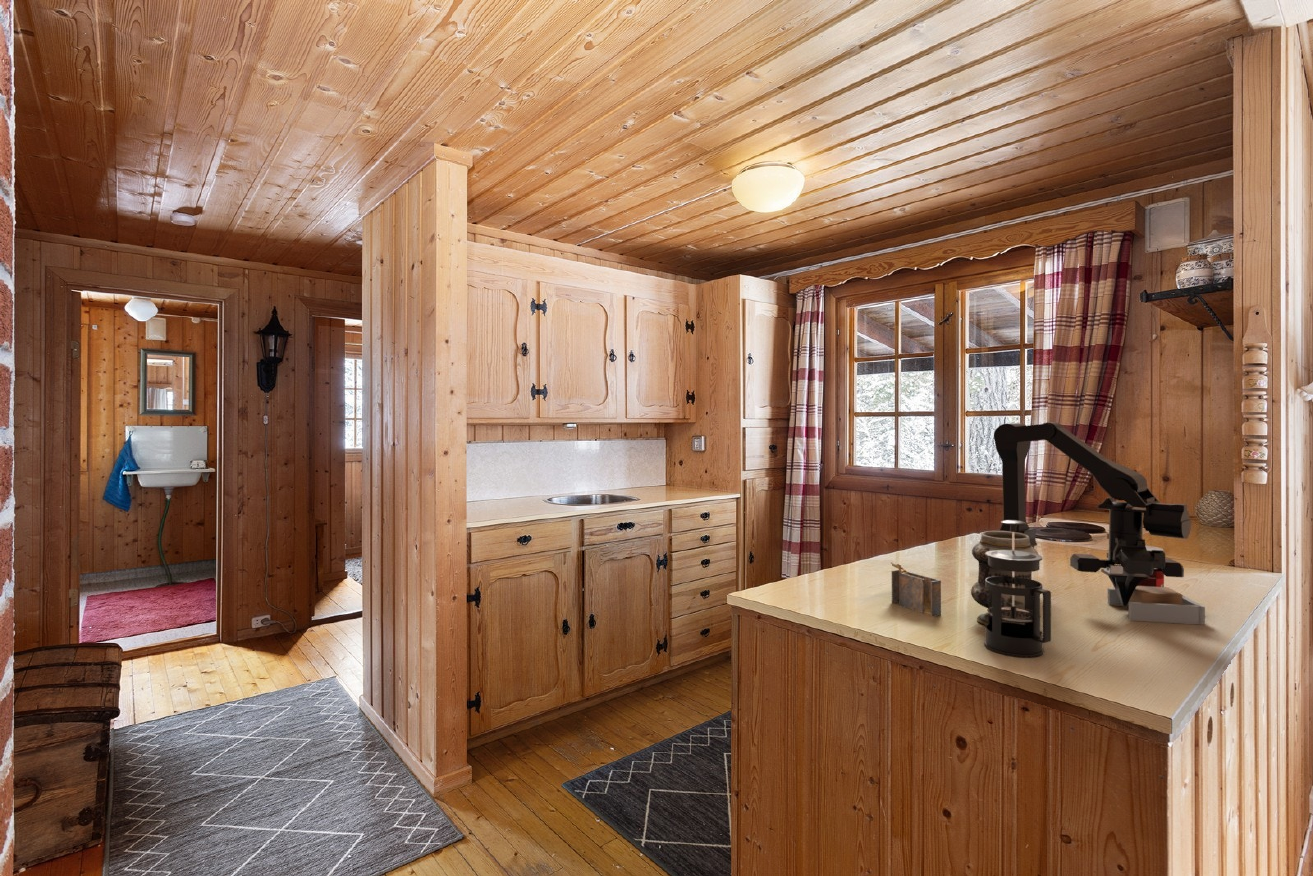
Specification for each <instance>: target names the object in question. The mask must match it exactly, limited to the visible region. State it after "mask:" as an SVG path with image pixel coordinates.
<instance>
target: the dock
mask: <svg viewBox="0 0 1313 876" xmlns="http://www.w3.org/2000/svg"><path fill="white" fill-rule="evenodd" d="M1129 601H1130V600H1129ZM1108 604H1109V605H1108ZM1107 605H1108V606H1120V607H1123V606H1122V604H1121V602H1120V600H1119V597H1118V595H1117V593H1116V590H1115V588H1114V587H1108V588H1107ZM1126 607H1128V620H1129V621H1132V622H1134V621H1138V622H1150V623H1151V622H1152V623H1153V622H1154V623H1168V624H1169V623H1170V624H1183V625H1184V624H1185V625H1186V624H1187V625H1199V626H1201V625H1203V626H1206V606H1204V605H1202V604H1200V603H1198V602H1196V601H1194V600H1192V599H1191V598H1189V597H1186V596H1185V595H1183V594H1182V605H1179V604H1161V603H1142V602H1128V604H1127V606H1126Z"/></svg>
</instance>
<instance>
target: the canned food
mask: <svg viewBox="0 0 1313 876" xmlns="http://www.w3.org/2000/svg"><path fill="white" fill-rule="evenodd" d="M1145 547H1146V549H1147V551H1152V550H1162V551H1163V552H1164V553H1165V550H1164V549H1163V548H1161V547H1156V546H1153V545H1145ZM1123 570H1124V569H1123ZM1147 576H1149V579H1144V580H1142V581H1141V582H1140V583H1139V584H1138V585H1137V586H1151V587H1165V575H1164V574H1163V573H1162V572H1161V571H1153V574H1152V575H1147Z"/></svg>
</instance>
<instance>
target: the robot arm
mask: <svg viewBox="0 0 1313 876" xmlns="http://www.w3.org/2000/svg"><path fill="white" fill-rule="evenodd" d="M993 439H994V445H995V449H996V452H997V454H998V456H999V458H1000V460H1001V462H1002V463H1001V468H1002V469H1001V471H1002V472H1001V473H1002V509H1003V513H1002V515H1003V517H1002V518H1003V520H1002V521H1004V520H1017V521H1023V522H1025V523H1027V524H1026V525H1016V533H1022V534H1025V535H1028V536H1029V539H1030V545H1031V546H1032V547H1033V548H1034V549H1035V547H1036V546H1038V543H1037V540H1036V535H1037V529H1036V528H1035V527H1034V528H1030V527H1029V526H1030V525H1029V524H1028V521H1027V517H1026V516H1027V515H1026V514H1027V512H1026V509H1027V508H1026V507H1027V506H1026V473H1025V472H1026V471H1025V464H1026V463H1025V461H1026V458H1027V456H1028V453H1029V452H1030V449H1031V443H1032V442H1038V441H1047V442H1048V443H1050V444H1051V445H1052V446H1053V447H1055V448H1056V449H1057V450H1058V451H1060V452H1062V453H1063V454H1064V455H1066V456H1067V457H1068V458H1070V459H1071V460H1072V461H1073V462H1075V463H1076V464H1077V465H1079V466H1080V467H1082V468H1083V469H1084V470H1086V472H1088V473H1090V475H1092V477H1093V478H1094V479H1095V481H1096V482H1097V484H1098V485H1099V486H1100V487H1101V488H1102V490H1103V491H1104V492H1106V494H1108V496H1109V497H1106V498H1105V500H1104V501H1102V502H1101V503H1100V504H1098V505H1097V508H1098V509H1101V510H1109V512H1108V513H1109V515H1108V517H1109V519H1108V520H1109V521H1108V524H1109V525H1108V533H1106V539H1108V552H1106V558H1105V559H1104V558H1098V557H1097V556H1096V555H1093V554H1091V553H1089V554H1088V553H1087V554H1086V553H1073V554H1072V555H1071V556H1070V559H1069V560H1070V561H1069V563H1070V564H1069V566H1070V567H1072V568H1073V569H1075V570H1076V571H1077V572H1082V573H1097V572H1099V570H1100V572H1102V573H1103V574H1105V575H1106V576H1108V578H1109V580H1110V582H1111V584H1112V585H1113V588H1115V590H1116V593H1117V595H1118V597H1119V600H1120V602H1121V604H1122V606H1121V607H1128V606H1127V604H1128V602H1129V600H1130V598H1131V596H1132V594H1133V592H1134V590H1135V588H1136V587H1137V585H1138V584H1139V583H1140V582H1141V581H1142V580H1144V579H1149V576H1147V575H1152V574H1153V571H1161V572H1162V573H1163V574H1164V577H1168V578H1169V577H1170V578H1184V577H1185V568H1184V566H1183V565H1182V564H1181V562H1179V561H1176V560H1174V559H1171V558H1170V557H1169V558H1168V557H1166V553H1165V551H1164V552H1163V551H1162V550H1152V551H1147V549H1146V547H1145V546H1146V539H1144V538H1143V537H1144V536H1143V535H1144V534H1143V531H1144V530H1145V531H1146V532H1148V533H1149V535H1150V536H1157V537H1165V538H1174V539H1183V540H1188V538H1189V536H1190V535H1191V529H1192V519H1190V517H1191V515H1190V513H1189V511H1188V505H1187V504H1186V503H1165V502H1163V503H1162V502H1160V501H1159V499H1157V497H1156V496H1155V495H1154V494H1153V492H1152V491H1151V490H1150V488H1148V482H1147V481H1148V480H1147V479H1146V477H1145V476H1144V475H1143V474H1141V473H1139V472H1137V471H1135V470H1133V469H1131V468H1130V467H1127V466H1125V465H1122V464H1120V463H1117V462H1115V461H1112V460H1110V459H1108V458H1107V457H1105V456H1104V455H1103V454H1101V453H1100V452H1098V451H1097V450H1096V449H1094V448H1093V447H1092V446H1090V445H1089V444H1087V443H1085V441H1083V440H1081V439H1080V438H1079V437H1077V436H1076V435H1074V434H1073V433H1072V432H1071V431H1069V430H1068V429H1066V428H1065V427H1064V426H1063V424H1061V423H1059V422H1055V421H1050V422H1048V421H1047V422H1043V423H1040V424H1032V425H1031V424H1030V425H1026V424H1024V423H1020V422H1015V423H1014V422H1013V423H1012V422H1011V423H1002V424H1001V425H999V426H998V427H997V428H996V429H995V430H994V431H993ZM1143 528H1144V529H1143ZM998 531H1009V532H1010V525H1006V524H1001V525H1000V528H999V530H998ZM1123 569H1124V570H1123Z"/></svg>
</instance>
